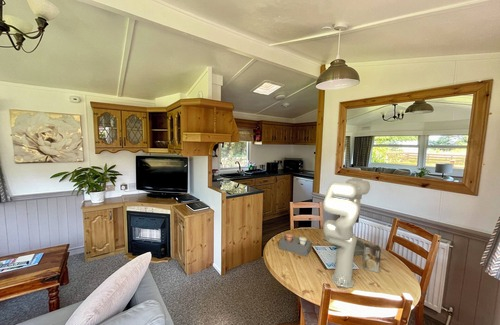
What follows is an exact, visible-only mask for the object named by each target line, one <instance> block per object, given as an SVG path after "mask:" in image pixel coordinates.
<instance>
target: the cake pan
mask: <svg viewBox="0 0 500 325" xmlns="http://www.w3.org/2000/svg"><path fill="white" fill-rule="evenodd" d="M335 248H336V249H337V250H338V249H339V248H341V246H338V245H335ZM361 255H364V242H363V241H361V240H359V239H357V243H356V246H355V250H354V256H361Z"/></svg>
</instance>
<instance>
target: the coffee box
mask: <svg viewBox="0 0 500 325" xmlns="http://www.w3.org/2000/svg"><path fill="white" fill-rule="evenodd" d="M363 243H364V242H363ZM381 254H382V248H381V247H380V246H379V245H377V244H371V243H366V242H365V243H364V253H363V254H362V255H363V256H362V267H363V270H365V271H370V272H375V273H380V267H381V265H380V264H381Z"/></svg>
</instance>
